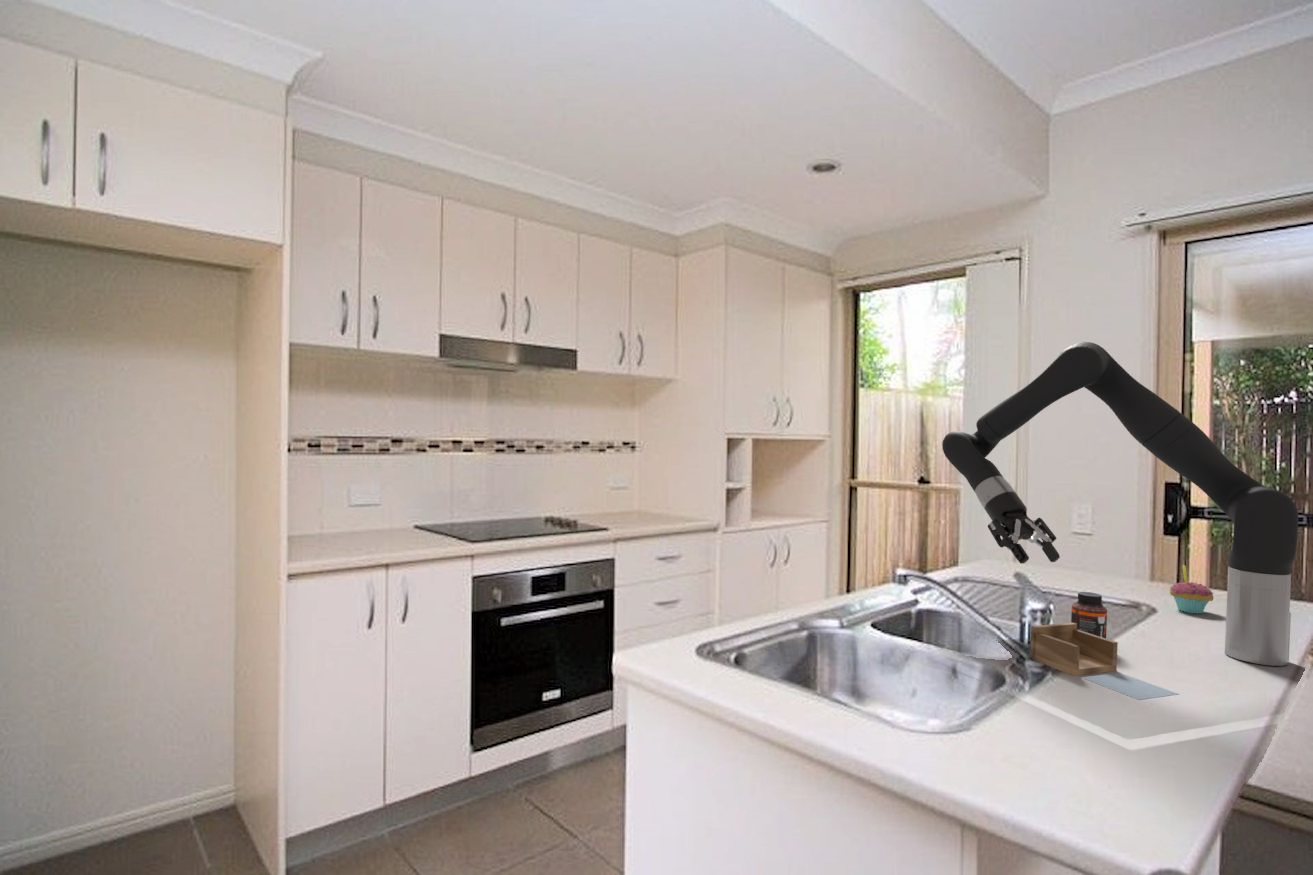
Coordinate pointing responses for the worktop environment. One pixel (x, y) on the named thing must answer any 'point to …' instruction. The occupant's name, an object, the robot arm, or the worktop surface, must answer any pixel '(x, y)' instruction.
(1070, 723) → the worktop surface
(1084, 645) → the tray
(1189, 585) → the cupcake
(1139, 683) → the plate
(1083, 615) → the supplement bottle
